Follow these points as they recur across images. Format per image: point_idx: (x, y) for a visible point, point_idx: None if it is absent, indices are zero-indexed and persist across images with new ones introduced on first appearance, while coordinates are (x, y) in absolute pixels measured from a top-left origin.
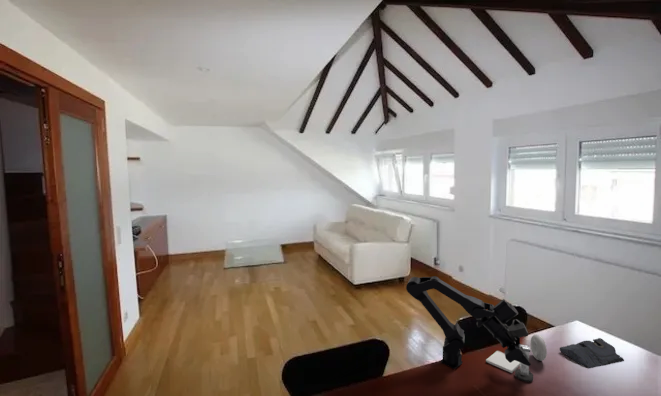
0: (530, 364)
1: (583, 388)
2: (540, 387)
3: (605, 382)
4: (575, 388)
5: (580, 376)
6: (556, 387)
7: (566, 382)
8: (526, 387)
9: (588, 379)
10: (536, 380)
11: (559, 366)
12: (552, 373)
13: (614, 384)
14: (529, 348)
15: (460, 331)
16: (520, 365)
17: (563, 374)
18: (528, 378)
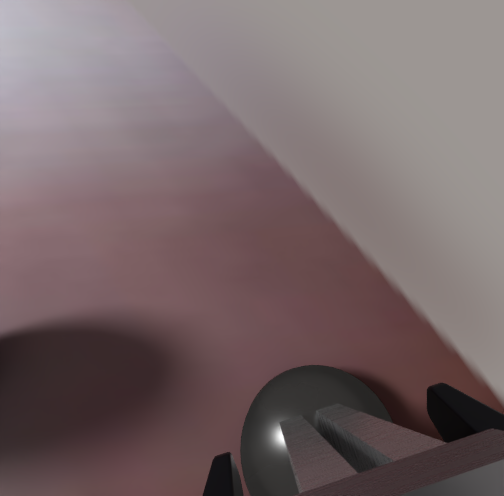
0: (453, 389)
1: (208, 110)
2: (372, 306)
3: (86, 43)
4: (235, 140)
5: (82, 127)
6: (296, 221)
7: (197, 180)
8: None
9: (95, 97)
10: (297, 343)
11: (7, 229)
12: (129, 258)
13: (85, 18)
14: (496, 488)
15: None
16: None
17: (106, 201)
18: (377, 398)
